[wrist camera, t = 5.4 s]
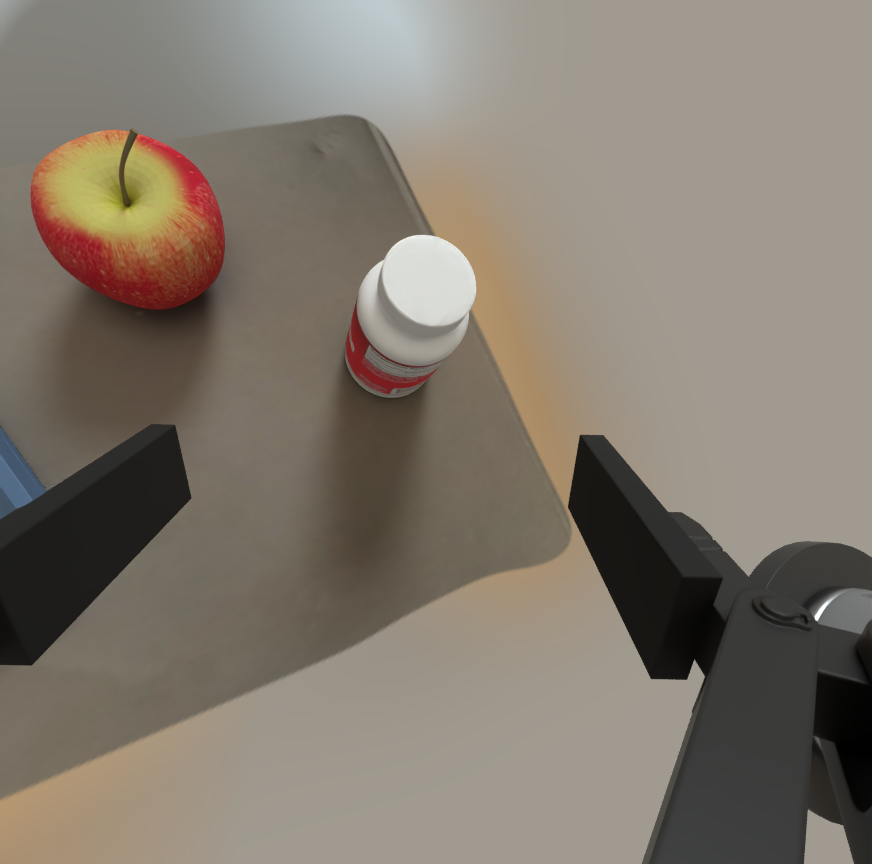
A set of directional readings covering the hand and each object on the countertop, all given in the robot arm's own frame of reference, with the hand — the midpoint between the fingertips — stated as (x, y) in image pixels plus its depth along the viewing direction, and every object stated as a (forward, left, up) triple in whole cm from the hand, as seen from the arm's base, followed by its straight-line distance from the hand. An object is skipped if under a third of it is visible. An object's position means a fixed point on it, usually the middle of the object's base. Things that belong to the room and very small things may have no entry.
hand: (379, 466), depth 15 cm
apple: (+18, +1, -15) cm, 23 cm away
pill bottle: (+6, -8, -15) cm, 18 cm away
